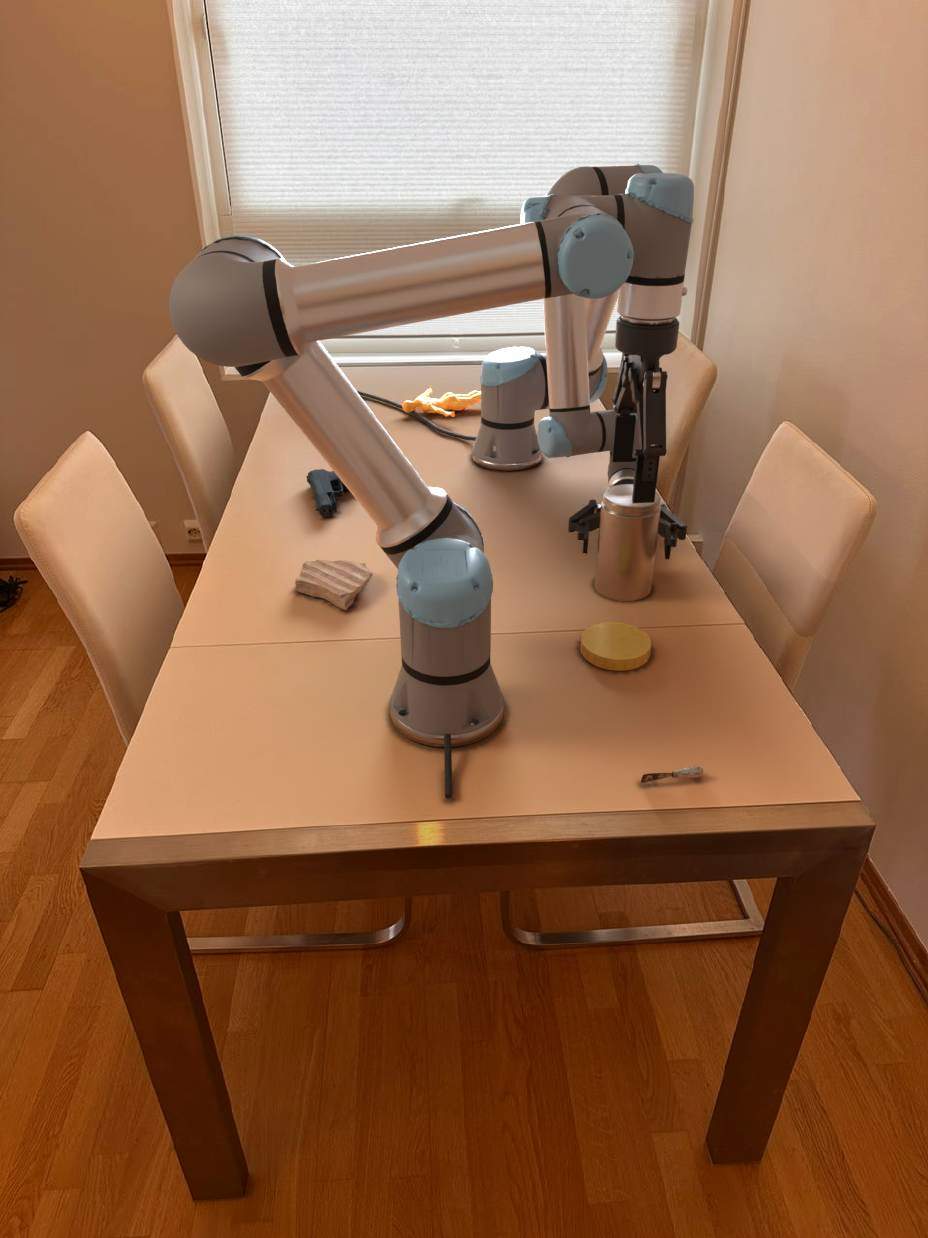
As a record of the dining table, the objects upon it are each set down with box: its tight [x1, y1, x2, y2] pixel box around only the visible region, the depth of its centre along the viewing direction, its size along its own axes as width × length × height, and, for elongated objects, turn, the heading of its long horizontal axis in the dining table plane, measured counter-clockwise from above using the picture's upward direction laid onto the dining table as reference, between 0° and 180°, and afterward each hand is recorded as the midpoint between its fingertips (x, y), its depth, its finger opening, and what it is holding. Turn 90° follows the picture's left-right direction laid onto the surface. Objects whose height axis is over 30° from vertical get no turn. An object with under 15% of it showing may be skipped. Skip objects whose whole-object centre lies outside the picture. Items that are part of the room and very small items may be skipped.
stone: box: [294, 559, 374, 611], centre depth 149 cm, size 13×12×3 cm
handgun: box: [305, 468, 348, 518], centre depth 180 cm, size 3×18×12 cm
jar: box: [593, 484, 662, 602], centre depth 145 cm, size 9×9×17 cm
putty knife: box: [640, 765, 705, 784], centre depth 109 cm, size 1×8×2 cm, turn 103°
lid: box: [579, 621, 652, 672], centre depth 133 cm, size 10×10×2 cm
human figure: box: [401, 385, 481, 418], centre depth 225 cm, size 20×20×4 cm
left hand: (631, 480), depth 119 cm, fingers open, 13 cm apart
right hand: (626, 549), depth 148 cm, fingers open, 13 cm apart
